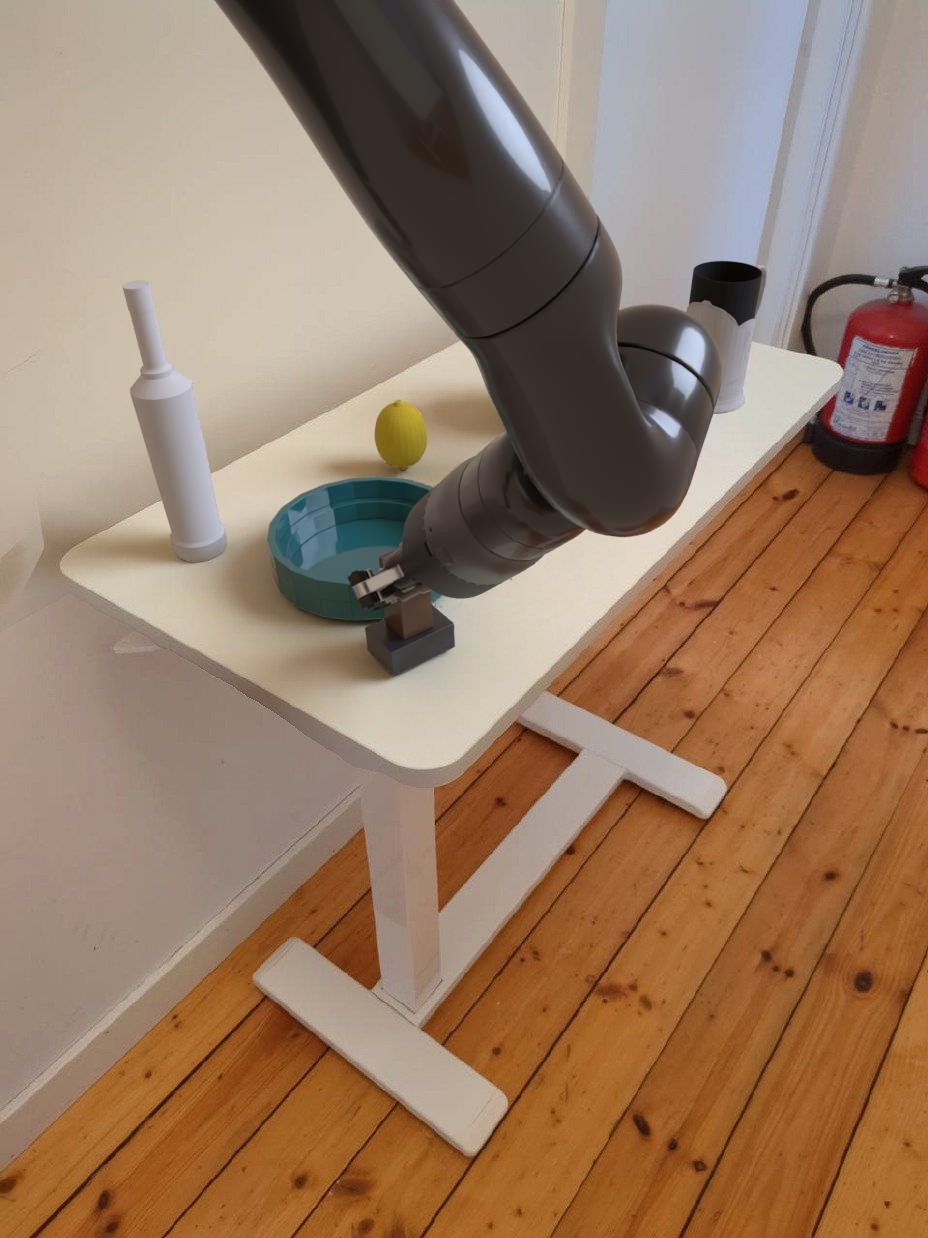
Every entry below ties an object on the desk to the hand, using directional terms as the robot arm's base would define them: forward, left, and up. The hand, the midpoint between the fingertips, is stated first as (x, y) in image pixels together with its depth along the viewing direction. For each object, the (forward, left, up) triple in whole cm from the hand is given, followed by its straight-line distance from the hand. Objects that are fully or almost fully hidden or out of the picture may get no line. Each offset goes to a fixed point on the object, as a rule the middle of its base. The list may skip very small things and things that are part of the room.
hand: (392, 588), depth 71 cm
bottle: (-22, +9, -6) cm, 25 cm away
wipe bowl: (-6, +10, -5) cm, 12 cm away
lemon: (-8, +28, -6) cm, 29 cm away
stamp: (+2, -1, -5) cm, 5 cm away
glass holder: (+25, +54, -6) cm, 60 cm away
